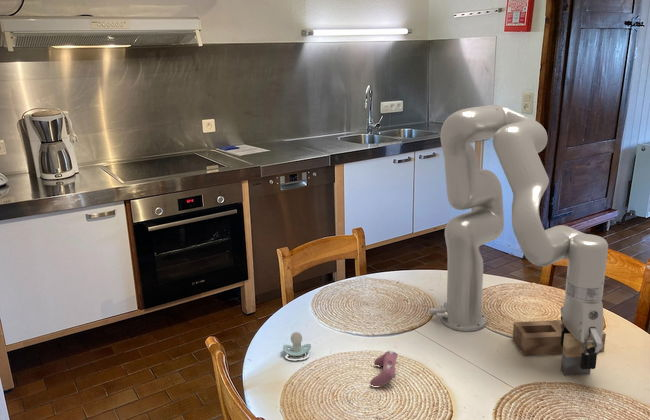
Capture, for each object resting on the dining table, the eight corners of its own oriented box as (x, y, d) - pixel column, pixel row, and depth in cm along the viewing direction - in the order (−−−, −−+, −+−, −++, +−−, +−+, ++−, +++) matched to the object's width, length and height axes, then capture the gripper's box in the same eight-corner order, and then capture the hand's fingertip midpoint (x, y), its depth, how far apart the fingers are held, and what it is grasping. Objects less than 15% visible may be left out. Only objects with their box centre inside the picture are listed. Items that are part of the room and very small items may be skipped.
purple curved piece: (386, 395, 121) (399, 373, 118) (368, 386, 121) (381, 364, 119) (389, 371, 130) (402, 349, 128) (373, 362, 130) (385, 341, 128)
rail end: (564, 375, 122) (568, 338, 120) (560, 371, 124) (564, 333, 121) (590, 374, 122) (594, 336, 120) (585, 369, 124) (590, 332, 121)
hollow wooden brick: (524, 355, 131) (525, 338, 130) (512, 339, 139) (513, 322, 137) (603, 351, 131) (605, 334, 130) (587, 335, 139) (589, 318, 137)
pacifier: (310, 362, 133) (311, 349, 139) (309, 341, 131) (310, 328, 137) (282, 363, 133) (284, 350, 139) (280, 342, 131) (282, 329, 137)
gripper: (622, 306, 109) (613, 377, 114) (581, 273, 126) (575, 336, 130) (586, 308, 109) (579, 379, 114) (550, 274, 125) (545, 338, 130)
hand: (577, 356), depth 122 cm, fingers open, 9 cm apart
